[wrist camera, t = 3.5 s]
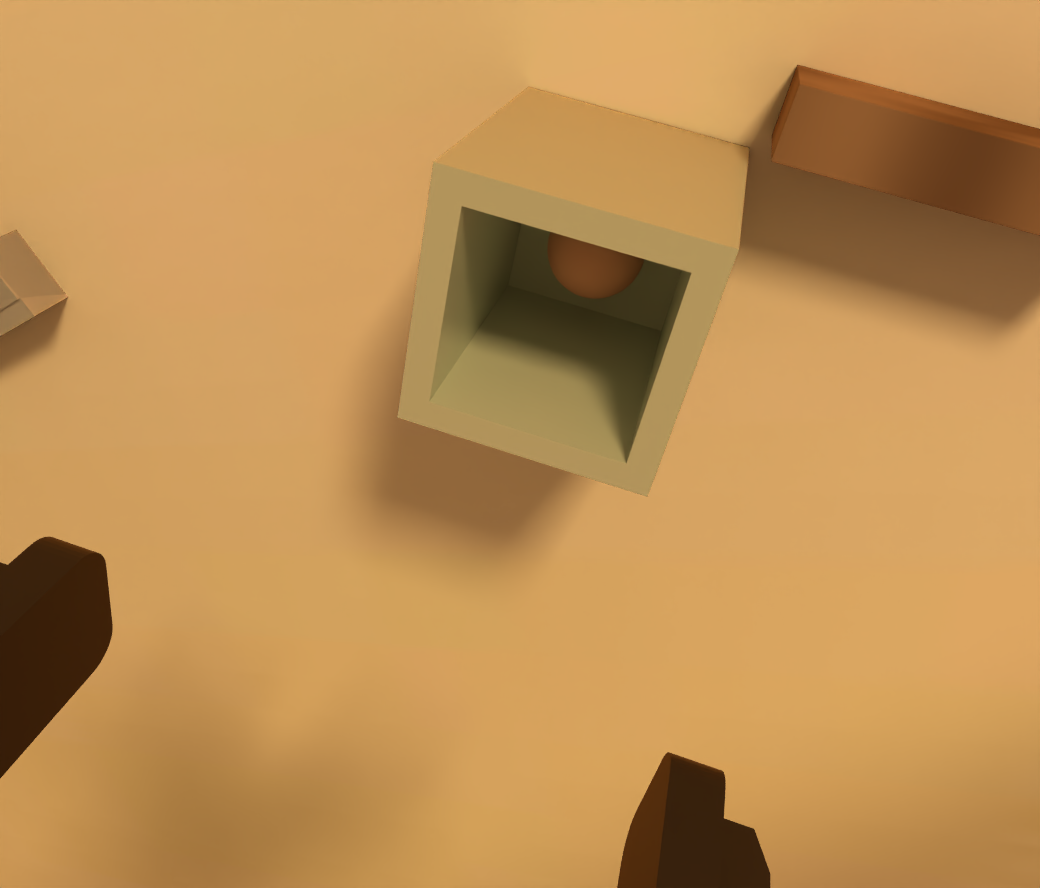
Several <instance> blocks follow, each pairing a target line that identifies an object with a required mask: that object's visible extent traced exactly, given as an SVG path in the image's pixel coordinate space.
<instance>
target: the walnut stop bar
mask: <svg viewBox="0 0 1040 888" xmlns="http://www.w3.org/2000/svg"><path fill="white" fill-rule="evenodd" d="M771 161H772V162H775V163H779V164H783V165H786V166H790V167H793V168H797V169H801V170H804V171H808V172H811V173H815V174H819V175H822V176H826V177H830V178H833V179H837V180H840V181H844V182H848V183H851V184H855V185H859V186H862V187H866V188H869V189H873V190H877V191H880V192H884V193H888V194H891V195H895V196H898V197H902V198H906V199H909V200H913V201H916V202H920V203H924V204H927V205H931V206H935V207H938V208H942V209H945V210H949V211H953V212H956V213H960V214H964V215H967V216H971V217H974V218H978V219H982V220H985V221H989V222H992V223H996V224H1000V225H1003V226H1007V227H1011V228H1014V229H1018V230H1021V231H1025V232H1029V233H1032V234H1036V235H1040V129H1038V128H1034V127H1030V126H1026V125H1022V124H1019V123H1015V122H1011V121H1007V120H1004V119H1000V118H996V117H992V116H989V115H985V114H981V113H977V112H973V111H970V110H966V109H962V108H958V107H955V106H951V105H947V104H943V103H939V102H936V101H932V100H928V99H924V98H921V97H917V96H913V95H909V94H906V93H902V92H898V91H894V90H890V89H887V88H883V87H879V86H875V85H872V84H868V83H864V82H860V81H856V80H853V79H849V78H845V77H841V76H838V75H834V74H830V73H826V72H823V71H819V70H815V69H811V68H807V67H804V66H800V65H797V68H796V71H795V73H794V76H793V79H792V82H791V84H790V87H789V90H788V93H787V95H786V98H785V101H784V104H783V106H782V109H781V112H780V115H779V117H778V120H777V123H776V126H775V128H774V131H773V134H772V157H771Z"/></svg>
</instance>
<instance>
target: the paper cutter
mask: <svg viewBox="0 0 1040 888" xmlns="http://www.w3.org/2000/svg"><path fill="white" fill-rule="evenodd" d="M67 297H68V296H67V295H66V294H65V293H64V291H63V290H62V289H61V287H60V286H59V285H58V283H57V282H56V281H55V279H54V278H53V277H52V276H51V274H50V273H49V272H48V270H47V269H46V268H45V266H44V265H43V264H42V263H41V261H40V260H39V259H38V257H37V256H36V255H35V253H34V252H33V251H32V249H31V248H30V247H29V246H28V244H27V243H26V242H25V240H24V239H23V238H22V236H21V235H20V234H19V233H18V231H17V230H15V231H12V232H10V233H8V234H6V235H3V236H1V237H0V336H2V335H4V334H5V333H7V332H9V331H11V330H12V329H14V328H16V327H17V326H19V325H21V324H23V323H24V322H26V321H28V320H29V319H31V318H33V317H35V316H36V315H38V314H40V313H41V312H43V311H45V310H47V309H48V308H50V307H52V306H53V305H55V304H57V303H59V302H60V301H62V300H64V299H65V298H67Z"/></svg>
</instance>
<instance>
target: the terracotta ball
mask: <svg viewBox="0 0 1040 888" xmlns="http://www.w3.org/2000/svg"><path fill="white" fill-rule="evenodd" d="M547 253H548V260H549V264H550V267H551V269H552V272H553V273H554V275H555V277H556V278H557V280H558V281H559V282H560V283H561V284H562V285H563V286H564V287H565V288H566V289H568V290H569V291H571V292H572V293H574V294H576V295H579V296H581V297H585V298H592V299H600V298H606V297H610V296H613V295H615V294H617V293H619V292H621V291H623V290H624V289H625V288H627V287H628V286H629V285H630V284H631V283H632V282H633V281H634V280H635V278H636V277H637V275H638V274H639V272H640V270H641V268H642V265H643V263H644V259H642V258H639V257H635V256H632V255H628V254H625V253H621V252H618V251H615V250H611V249H608V248H604V247H601V246H597V245H594V244H591V243H587V242H584V241H580V240H577V239H573V238H570V237H566V236H563V235H560V234H556V233H553V232H550V235H549V239H548V248H547Z"/></svg>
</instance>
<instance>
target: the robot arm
mask: <svg viewBox="0 0 1040 888" xmlns="http://www.w3.org/2000/svg"><path fill="white" fill-rule="evenodd" d="M111 636H112V616H111V607H110V598H109V588H108V579H107V570H106V562H105V559H104V557H103V556H102V555H101V554H99V553H97V552H94V551H91V550H88V549H85V548H82V547H79V546H76V545H73V544H70V543H68V542H65V541H62V540H59V539H56V538H53V537H44V538H41V539H39V540H37V541H35V542H34V543H33V544H31V545H30V546H29V547H28V548H27V549H26V550H24V551H23V552H22V553H21V554H20V555H19V556H18V557H16V558H15V559H14V560H13V561H12V562H11V563H10V564H8V565H6V564H3V563H0V778H1V777H2V776H3V775H4V774H5V772H6V771H7V770H8V769H9V768H10V767H11V766H12V764H13V763H14V762H15V761H16V760H17V759H18V758H19V756H20V755H21V754H22V753H23V752H24V751H25V750H26V748H27V747H28V746H29V745H30V744H31V743H32V742H33V740H34V739H35V738H36V737H37V736H38V735H39V734H40V732H41V731H42V730H43V729H44V728H45V727H46V726H47V724H48V723H49V722H50V721H51V720H52V719H53V718H54V716H55V715H56V714H57V713H58V712H59V711H60V710H61V708H62V707H63V706H64V705H65V704H66V703H67V702H68V700H69V699H70V698H71V697H72V696H73V695H74V694H75V692H76V691H77V690H78V689H79V688H80V687H81V686H82V684H83V683H84V682H85V681H86V680H87V679H88V678H89V676H90V675H91V674H92V673H93V672H94V671H95V669H96V668H97V667H98V665H99V664H100V662H101V660H102V659H103V657H104V655H105V653H106V651H107V649H108V646H109V643H110V640H111ZM724 804H725V775H724V772H723V771H721V770H718V769H715V768H712V767H710V766H707V765H704V764H701V763H698V762H695V761H692V760H689V759H686V758H684V757H681V756H678V755H675V754H672V753H669V752H668V753H666V754H665V756H664V757H663V759H662V761H661V763H660V765H659V767H658V769H657V771H656V773H655V775H654V777H653V779H652V781H651V783H650V785H649V787H648V789H647V791H646V793H645V795H644V797H643V799H642V801H641V803H640V805H639V807H638V809H637V811H636V813H635V815H634V818H633V820H632V823H631V826H630V829H629V832H628V836H627V839H626V843H625V847H624V851H623V856H622V861H621V867H620V874H619V880H618V886H617V888H770V872H769V869H768V866H767V863H766V861H765V858H764V855H763V852H762V849H761V847H760V844H759V841H758V838H757V836H756V833H755V830H754V829H753V828H750V827H747V826H744V825H741V824H738V823H735V822H733V821H730V820H727V819H724Z"/></svg>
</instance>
